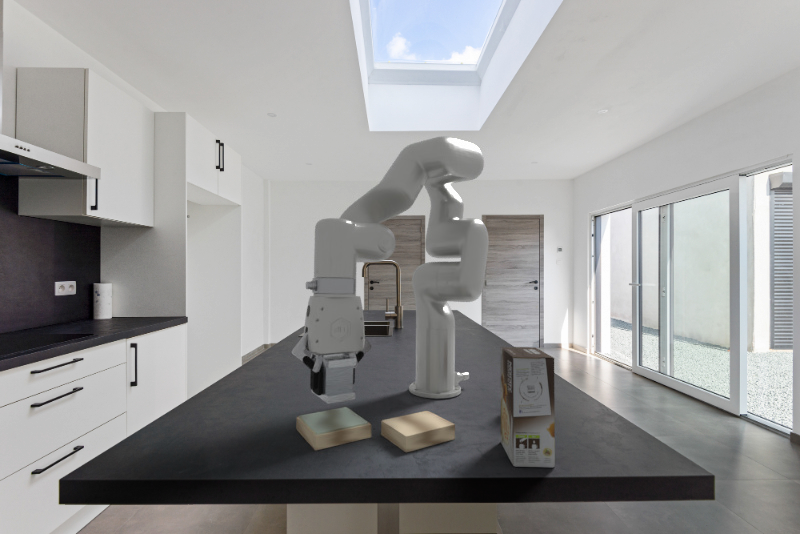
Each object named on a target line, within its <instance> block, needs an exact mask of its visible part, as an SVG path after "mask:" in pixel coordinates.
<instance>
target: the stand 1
mask: <svg viewBox="0 0 800 534" xmlns="http://www.w3.org/2000/svg"><path fill="white" fill-rule="evenodd" d="M295 427H296V429H295V430H297V432H298V434H300V435H301V436H302V438H304V440H305V441H306V442H307V443H308V444H309V445H310V447H311V448H312V449H313V450H314V451H319V450H323V449H328V448H332V447H335V446H336V447H337V446H341V445H345V444H348V443H353V442H358V441H361V440H364V439H365V440H366V439H369V438H370V439H371V438H372V424H371V422H368V421H367V420H366V419H364V418H363V417H361V416H360V415H359V414H357V413H356V412H354V410H352V409H350V408H349V407H347V406H343V407H339V408H334V409H328V410H323V411H317V412H313V413H307V414H301V415H299V416H296V425H295Z"/></svg>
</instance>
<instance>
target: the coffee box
mask: <svg viewBox="0 0 800 534" xmlns="http://www.w3.org/2000/svg"><path fill="white" fill-rule="evenodd" d="M499 351H500V352H499V354H500V355H499V356H500V359H499V361H500V364H499V365H500V368H499V369H500V371H499V372H500V373H499V374H500V378H499V379H500V443H501V445H502V447H503V449H504V451H505V453H506V455H507V457H508V459H509V461H510V463H511V465H512V466H513V467H519V468H521V467H522V468H523V467H524V468H525V467H526V468H551V469H552V468H554V467H555V465H556V464H555V461H556V459H555V458H556V457H555V456H556V455H555V454H556V452H555V451H556V446H555V444H556V443H555V442H556V439H555V438H556V435H555V432H556V431H555V430H556V429H555V428H556V426H555V423H556V422H555V418H556V417H555V415H556V411H555V400H556V399H555V396H556V395H555V357H554V356H552V355H550V354H548V353H546V352H544V351H542V350H540V349H539V348H537V347H532V346H531V347H529V346H523V347H522V346H517V347H516V346H511V347H508V346H506V347H500V349H499Z"/></svg>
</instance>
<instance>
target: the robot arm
mask: <svg viewBox="0 0 800 534" xmlns="http://www.w3.org/2000/svg"><path fill="white" fill-rule="evenodd" d="M484 167H485V160H484V155H483V153H482V151H481V150H480V147H478V146H477V145H476V144H475V143H472V142H469V141H466V140H462V139H459V138H454V137H450V136H436V137H432V138H429V139H426V140H425V139H424V140H421V141H418V142H414V143H410V144H409V145H406V146H405V147H404V148H403V149H402V150H401V151H400V153H398V155H397V157H395V159H394V161H393V163H392V165H391V166H390V167H389V169H388V170H386V171H387V172H386V173H385V175H384V176H383V178H382V179H380V181H379V183H378V184H376V185H375V186H374V187H372V188H371V189H370V190H369V189H368V191H367V192H365V193H364V194H363V195H362V196H361V197H359V198H358V199H357V200H356V201H354V202H353V203H352V204H350V205H349V206H348V207H347V208H345V210H344V211H343V212H342V214H341V215H340V216H339V218H338V217H336V218H335V217H333V218H331V217H330V218H322V219H319V220H318V221H317V222H316V223H315V226H314V228H315V229H314V250H313V251H314V254H313V256H314V257H313V258H314V259H313V278H312V280H311V281H306V282H305V289H306V290H310V291H311V293H312V294H313V295H310V296H309V299H308V303H307V307H306V313H305V320H304V328H303V335H302V337H301V338H300V340H299V341H298V342H297V343H296V344H295V346H294V347H293V348H292V350H291V354H292V355H293V356H295V357H296V358H297V359H298V360H300V361H301V362H302V363H303V364H304V365H305V366H306V367H308V369H310V370H309V371H310V381H309V383H310V384H309V385H310V386H309V387H310V390H313V392H314V393H315V394H316V395H318V396H319V395H321V394H322V384H323V373H322V372H321V371H320V369H321V368H320V367H321V364H322V360H323V357H324V355H332V354H343V353H344V354H347V355H349V356H352V357H354V358H356V365H353V385H355V382H356V380H355V379H356V378H355V375H356V368H357V367H358V365H359V363H360V361H361V360H362V359H363V358H364V356H365V355H366V354H367V353H368V352H369V351H370V350H371V349H372V347H373V346H372V344H371V342H370V341H369V340H368V338H367V337H366V335H365V331H366V329H365V319H364V310H363V304H362V297H361V296H360V295H357V263H379V262H383V261H385V260H387V259H389V258H390V257H391V256H392V255H393V253H394V252H395V249H396V238H395V235H394V233H393V231H392V229H390V228H389V227H388V226H386V225H385V224H382V223H383V222H386V221H388V220H390V219H392V218H394V217H396V216H397V217H398V216H399V215H401V214H402V213H404V212H406V211H409V209H410V208H412V206H413V205H414V203H415V201H416V200H417V199H418V196H419V195H420V193H421V191H422V189H423V187H424V188H425V189H426V192H427V194H428V196H429V200H430V211H429V218H428V224H427V228H426V235H425V247H424V248H425V251H426V253H427V255H429V256H430V257H432V258H435V259H460V261H430V262H425V263H422V264H420V265H419V266H417V267H416V269H414V271H413V274H412V279H411V284H412V291H413V294H414V295H413V296H414V301H415V303H414V304H415V381H413V382H412V383H411V384H409V386H408V387H409V388H408V391H409V392H410V393H411V394H412V395H414V396H417V397H420V398H425V399H436V400H437V399H438V400H439V399H449V398H454V397H457V396H459V395H460V394H461V393H462V387H461V386H460V385H459V383H460V382H461V381H468V380H469V379H470V373H469V372H468V371H465V372H458V371H457V370H456V371H455V369H456V368H455V367H456V366H455V365H456V363H455V361H456V360H455V359H456V350H455V349H456V348H455V347H456V320H455V319H456V318H455V315H454V313H453V310H452V308H451V306H450V305H449V303H448V302H452V303H453V302H455V303H456V302H458V303H459V302H460V303H471V302H474V301H476V300H478V299H479V298H480V297H481V294H482V292H483V288H484V286H485V285H484V284H485V276H486V268H487V261H488V254H489V244H490V242H489V232H488V229H487V227H486V225H485V223H484V222H483V221H482V220H480V219H478V218H471V217H470V218H463V217H464V209H465V208H464V201H463V200H462V198H461V196H460V195H459V194H458V192H456V190H455V189H454V188H453V186H452V185H451V184H455V183H461V182H462V183H463V182H467V181H473V180H475V179H477V178H479V176H480V175H481V174H482V173H483V170H484ZM305 351H307V352H311V354H310V356H308V355H307V354H306V353H305ZM314 393H313V394H314ZM315 394H314V395H315ZM316 395H315V396H316ZM318 396H317V397H318Z"/></svg>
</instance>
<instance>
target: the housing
mask: <svg viewBox="0 0 800 534" xmlns="http://www.w3.org/2000/svg"><path fill="white" fill-rule="evenodd" d="M353 365H356V358H354V357H352V356H349V355H347V354H344V353H343V354H332V355H324V357H323V360H322V364H321V367H320V368H321V369H320V371H321V372H322V373H323V384H322V394H321V395H319V396H318V395H316V394H315V393H314V392H313V390H311V389H310V390H311V393H312V394H314V395H315V396H316V397H318V399H320V400H322V401H323V402H324V403H326V404H327V405H329V404H336V403H340V402H347V401H353V400H356V391H354V384H353Z"/></svg>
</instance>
